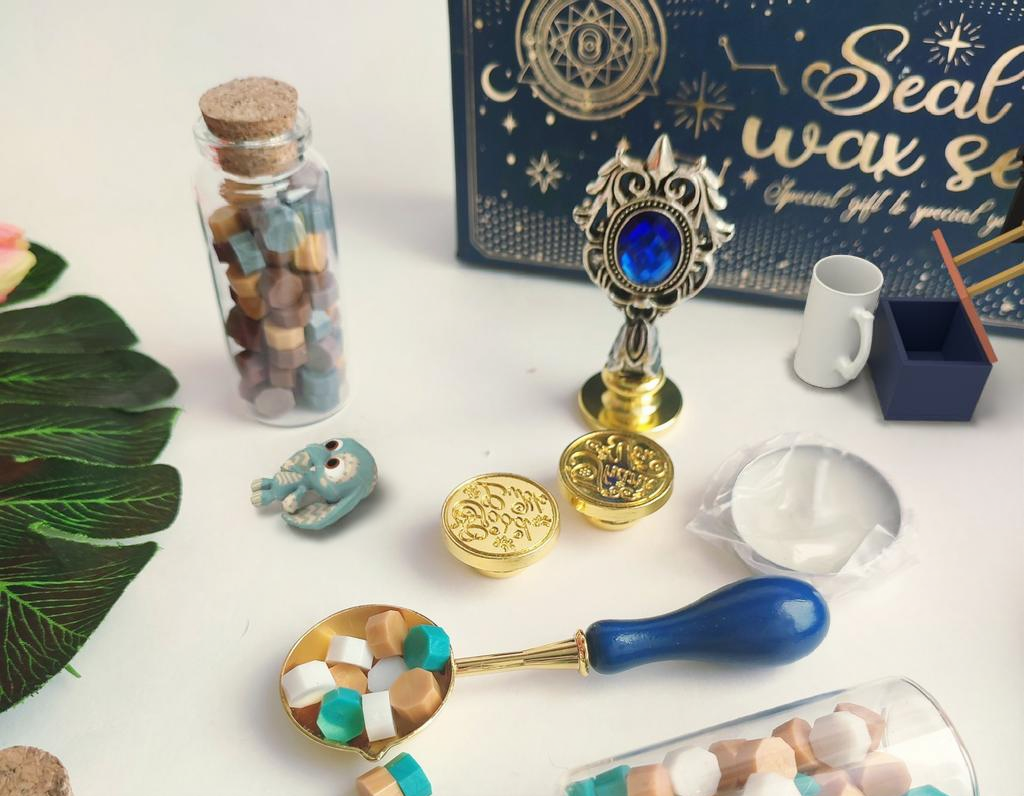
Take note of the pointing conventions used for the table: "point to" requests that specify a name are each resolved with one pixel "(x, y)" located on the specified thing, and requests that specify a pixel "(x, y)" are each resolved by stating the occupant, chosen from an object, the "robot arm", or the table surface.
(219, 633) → the table surface
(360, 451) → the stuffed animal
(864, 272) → the mug
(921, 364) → the blue open box
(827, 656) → the table surface
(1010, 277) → the lid
